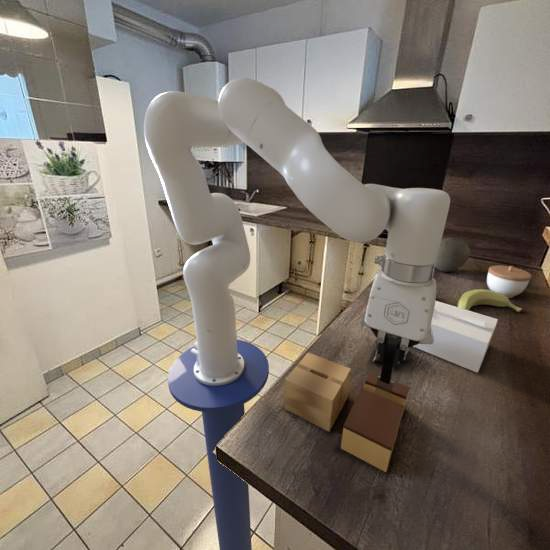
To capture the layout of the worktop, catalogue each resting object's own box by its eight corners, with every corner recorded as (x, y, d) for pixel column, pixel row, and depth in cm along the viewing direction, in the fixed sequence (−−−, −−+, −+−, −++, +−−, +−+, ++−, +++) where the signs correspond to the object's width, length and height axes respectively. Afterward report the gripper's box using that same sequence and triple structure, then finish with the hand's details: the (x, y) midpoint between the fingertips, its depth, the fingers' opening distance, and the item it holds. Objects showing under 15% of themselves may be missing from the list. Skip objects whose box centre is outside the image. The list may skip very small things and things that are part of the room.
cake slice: (361, 402, 62) (365, 380, 60) (365, 393, 65) (369, 371, 62) (401, 419, 58) (406, 396, 56) (404, 409, 61) (409, 387, 58)
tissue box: (398, 314, 96) (404, 284, 92) (488, 346, 80) (500, 311, 76) (379, 332, 86) (384, 300, 82) (477, 372, 71) (491, 335, 66)
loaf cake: (340, 448, 52) (343, 424, 50) (358, 410, 60) (361, 388, 58) (386, 472, 49) (391, 448, 46) (398, 428, 56) (404, 405, 54)
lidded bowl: (474, 288, 114) (482, 262, 110) (498, 284, 117) (507, 259, 113) (505, 303, 103) (516, 274, 99) (531, 298, 106) (542, 271, 102)
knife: (370, 411, 59) (383, 341, 52) (373, 404, 61) (386, 335, 54) (385, 418, 58) (400, 346, 51) (388, 410, 59) (403, 340, 52)
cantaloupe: (449, 278, 122) (458, 244, 117) (421, 267, 134) (428, 236, 128) (471, 273, 128) (480, 240, 122) (442, 263, 140) (449, 232, 134)
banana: (457, 280, 104) (521, 293, 99) (451, 291, 107) (512, 305, 103) (464, 305, 93) (535, 322, 89) (456, 317, 97) (524, 334, 93)
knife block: (284, 409, 60) (285, 379, 57) (306, 379, 68) (307, 352, 65) (329, 432, 56) (332, 400, 52) (347, 397, 63) (351, 368, 60)
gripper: (352, 265, 48) (341, 356, 55) (464, 288, 40) (434, 390, 47) (365, 253, 54) (354, 337, 61) (465, 271, 46) (439, 364, 53)
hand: (389, 359), depth 54 cm, fingers closed on knife, 1 cm apart
